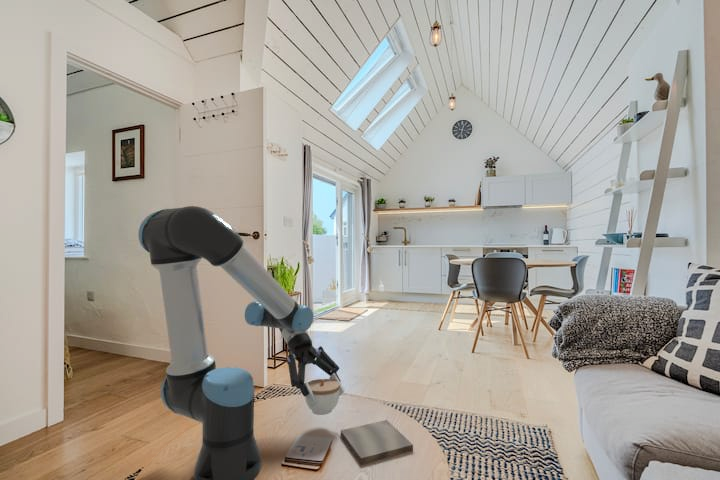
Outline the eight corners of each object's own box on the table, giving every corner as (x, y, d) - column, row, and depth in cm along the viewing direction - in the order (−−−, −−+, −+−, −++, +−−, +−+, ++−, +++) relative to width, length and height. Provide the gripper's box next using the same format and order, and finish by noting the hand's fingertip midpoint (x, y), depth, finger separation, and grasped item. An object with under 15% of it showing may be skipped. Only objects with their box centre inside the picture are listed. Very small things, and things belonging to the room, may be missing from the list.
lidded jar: (338, 418, 101) (338, 385, 101) (301, 418, 101) (301, 385, 101) (340, 403, 111) (340, 373, 112) (307, 403, 111) (307, 373, 112)
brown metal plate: (361, 464, 86) (361, 458, 86) (340, 435, 100) (340, 430, 100) (413, 450, 92) (412, 444, 92) (386, 424, 106) (386, 419, 106)
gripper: (318, 339, 126) (348, 394, 115) (262, 351, 109) (291, 418, 97) (328, 326, 123) (360, 382, 111) (272, 337, 106) (304, 404, 94)
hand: (328, 399), depth 104 cm, fingers closed on lidded jar, 11 cm apart
